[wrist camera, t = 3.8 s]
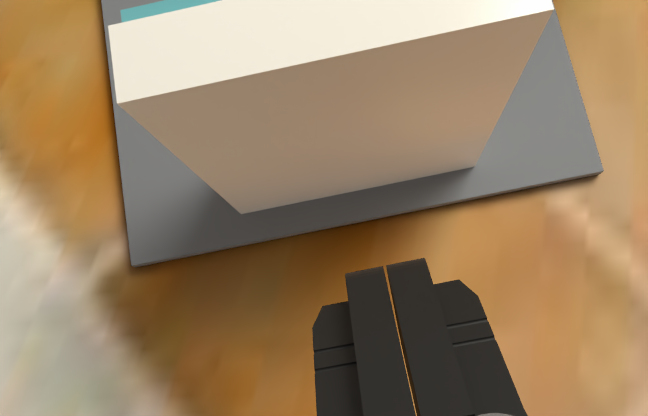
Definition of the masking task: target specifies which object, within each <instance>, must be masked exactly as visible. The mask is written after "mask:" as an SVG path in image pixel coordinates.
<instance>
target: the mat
mask: <svg viewBox="0 0 648 416" xmlns="http://www.w3.org/2000/svg"><path fill="white" fill-rule="evenodd" d="M159 1H164V0H101V2H102V11H103V20H104V29H105V37H106V46H107V55H108V64H109V73H110V82H111V91H112V99H113V108H114V117H115V126H116V135H117V144H118V152H119V161H120V170H121V179H122V188H123V197H124V205H125V214H126V223H127V232H128V241H129V250H130V258H131V266H134V267H139V266H144V265H149V264H154V263H159V262H164V261H169V260H174V259H179V258H184V257H189V256H194V255H199V254H204V253H209V252H214V251H219V250H224V249H229V248H234V247H239V246H244V245H249V244H254V243H259V242H264V241H269V240H274V239H279V238H284V237H289V236H294V235H299V234H304V233H309V232H314V231H319V230H324V229H329V228H334V227H339V226H344V225H349V224H354V223H359V222H364V221H369V220H373V219H378V218H383V217H388V216H393V215H398V214H403V213H408V212H413V211H418V210H423V209H428V208H433V207H438V206H443V205H448V204H453V203H458V202H463V201H468V200H473V199H478V198H483V197H488V196H493V195H498V194H503V193H508V192H513V191H518V190H523V189H528V188H533V187H538V186H543V185H548V184H553V183H558V182H563V181H568V180H573V179H578V178H583V177H588V176H593V175H598V174H600V173H602V172H603V171H604V170H603V167H602V163H601V160H600V157H599V153H598V150H597V147H596V143H595V140H594V137H593V133H592V130H591V127H590V123H589V120H588V117H587V113H586V110H585V107H584V104H583V100H582V97H581V94H580V90H579V87H578V84H577V80H576V77H575V74H574V70H573V67H572V64H571V60H570V57H569V54H568V50H567V47H566V44H565V40H564V37H563V34H562V30H561V27H560V24H559V20H558V17H557V14H556V10H555V7H554V4H553V0H551V1H552V4H553V7H554V10H553V12H552V14H551V16H550V18H549V20H548V22H547V24H546V26H545V28H544V30H543V32H542V34H541V36H540V38H539V40H538V42H537V44H536V46H535V48H534V50H533V52H532V54H531V56H530V58H529V60H528V62H527V64H526V66H525V68H524V70H523V72H522V74H521V76H520V78H519V80H518V82H517V84H516V86H515V88H514V90H513V92H512V94H511V96H510V98H509V100H508V102H507V104H506V105H505V107H504V109H503V111H502V113H501V115H500V117H499V119H498V121H497V123H496V125H495V127H494V129H493V131H492V133H491V135H490V137H489V139H488V141H487V143H486V145H485V147H484V149H483V151H482V153H481V155H480V157H479V159H478V161H477V163H476V165H475V167H471V168H466V169H461V170H456V171H451V172H446V173H441V174H437V175H432V176H427V177H422V178H417V179H412V180H407V181H402V182H397V183H392V184H387V185H383V186H378V187H373V188H368V189H363V190H358V191H353V192H348V193H343V194H338V195H333V196H328V197H324V198H319V199H314V200H309V201H304V202H299V203H294V204H289V205H284V206H279V207H274V208H270V209H265V210H260V211H255V212H250V213H245V214H240V213H239V212H238V211H237V210H236V209H235V208H234V207H233V206H231V205H230V204H229V203H228V202H227V201H226V200H225V199H224V198H222V197H221V196H220V195H219V194H218V193H217V192H216V191H215V190H213V189H212V188H211V187H210V186H209V185H208V184H207V183H206V182H204V181H203V180H202V179H201V178H200V177H199V176H198V175H197V174H195V173H194V172H193V171H192V170H191V169H190V168H189V167H188V166H186V165H185V164H184V163H183V162H182V161H181V160H180V159H179V158H177V157H176V156H175V155H174V154H173V153H172V152H171V151H170V150H168V149H167V148H166V147H165V146H164V145H163V144H162V143H161V142H159V141H158V140H157V139H156V138H155V137H154V136H153V135H152V134H151V133H149V132H148V131H147V130H146V129H145V128H144V127H143V126H142V125H140V124H139V123H138V122H137V121H136V120H135V119H134V118H133V117H131V116H130V115H129V114H128V113H127V112H126V111H125V110H124V109H122V108H121V107H120V106H119V105H118V104H117V100H116V91H115V82H114V74H113V65H112V56H111V48H110V39H109V30H108V26H109V25H113V24H118V23H122V20H121V12H120V10H124V9H128V8H132V7H137V6H141V5H146V4H150V3H155V2H159Z"/></svg>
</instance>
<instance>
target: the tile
mask: <svg viewBox="0 0 648 416" xmlns="http://www.w3.org/2000/svg"><path fill="white" fill-rule="evenodd" d="M553 10H554V7H553V4H552V1H551V0H164V1H159V2H155V3H150V4H146V5H141V6H137V7H132V8H128V9H124V10H120V12H121V20H122V23H118V24H113V25H109V26H108V30H109V39H110V48H111V56H112V65H113V74H114V82H115V91H116V100H117V104H118V105H119V106H120V107H121V108H122V109H124V110H125V111H126V112H127V113H128V114H129V115H130V116H131V117H133V118H134V119H135V120H136V121H137V122H138V123H139V124H140V125H142V126H143V127H144V128H145V129H146V130H147V131H148V132H149V133H151V134H152V135H153V136H154V137H155V138H156V139H157V140H158V141H159V142H161V143H162V144H163V145H164V146H165V147H166V148H167V149H168V150H170V151H171V152H172V153H173V154H174V155H175V156H176V157H177V158H179V159H180V160H181V161H182V162H183V163H184V164H185V165H186V166H188V167H189V168H190V169H191V170H192V171H193V172H194V173H195V174H197V175H198V176H199V177H200V178H201V179H202V180H203V181H204V182H206V183H207V184H208V185H209V186H210V187H211V188H212V189H213V190H215V191H216V192H217V193H218V194H219V195H220V196H221V197H222V198H224V199H225V200H226V201H227V202H228V203H229V204H230V205H231V206H233V207H234V208H235V209H236V210H237V211H238V212H239V213H240V214H245V213H250V212H255V211H260V210H265V209H270V208H274V207H279V206H284V205H289V204H294V203H299V202H304V201H309V200H314V199H319V198H324V197H328V196H333V195H338V194H343V193H348V192H353V191H358V190H363V189H368V188H373V187H378V186H383V185H387V184H392V183H397V182H402V181H407V180H412V179H417V178H422V177H427V176H432V175H437V174H441V173H446V172H451V171H456V170H461V169H466V168H471V167H475V165H476V163H477V161H478V159H479V157H480V155H481V153H482V151H483V149H484V147H485V145H486V143H487V141H488V139H489V137H490V135H491V133H492V131H493V129H494V127H495V125H496V123H497V121H498V119H499V117H500V115H501V113H502V111H503V109H504V107H505V105H506V104H507V102H508V100H509V98H510V96H511V94H512V92H513V90H514V88H515V86H516V84H517V82H518V80H519V78H520V76H521V74H522V72H523V70H524V68H525V66H526V64H527V62H528V60H529V58H530V56H531V54H532V52H533V50H534V48H535V46H536V44H537V42H538V40H539V38H540V36H541V34H542V32H543V30H544V28H545V26H546V24H547V22H548V20H549V18H550V16H551V14H552V12H553Z"/></svg>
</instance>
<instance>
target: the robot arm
mask: <svg viewBox="0 0 648 416" xmlns="http://www.w3.org/2000/svg"><path fill="white" fill-rule="evenodd" d="M386 267H387V273H388V278H389V283H390V288H391V294H392V299H393V304H394V309H395V314H396V320H397V325H398V330H399V335H400V340H401V345H402V349H403V354H404V359H405V363H406V368H407V372H408V377H409V381H410V386H411V390H412V395H413V399H414V404H415V408H416V413H417V416H528V415H527V414H526V412H525V410H524V408H523V406H522V403H521V401H520V398H519V396H518V393H517V391H516V388H515V386H514V383H513V381H512V378H511V376H510V374H509V371H508V369H507V366H506V364H505V361H504V359H503V356H502V354H501V351H500V349H499V347H498V344H497V342H496V340H495V338H494V334H493V332H492V329H491V327H490V324H489V322H488V321H487V317H486V315H485V312H484V310H483V307H482V305H481V302H480V300H479V297H478V296H477V295H476V294H475V293H474V292H473V291H472V290H470V289H469V288H468V287H467V286H466V285H465V284H463V283H462V282H461V281H460V280H454V281H449V282H444V283H439V284H434V285H433V282H432V279H431V276H430V272H429V269H428V266H427V263H426V260H425V258H421V259H416V260H411V261H406V262H401V263H396V264H391V265H386ZM345 278H346V286H347V293H348V301H347V302H341V303H336V304H331V305H326V306H322V308H321V311H320V313H319V315H318V317H317V319H316V321H315V323H314V326H313V328H312V329H313V348H314V368H315V387H316V406H317V416H416V415H415V410H414V406H413V401H412V397H411V392H410V387H409V383H408V378H407V374H406V369H405V365H404V360H403V355H402V351H401V346H400V342H399V337H398V333H397V328H396V323H395V319H394V314H393V310H392V305H391V301H390V296H389V291H388V287H387V282H386V278H385V273H384V269H383V266H381V267H376V268H371V269H366V270H361V271H356V272H351V273H346V274H345Z"/></svg>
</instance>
